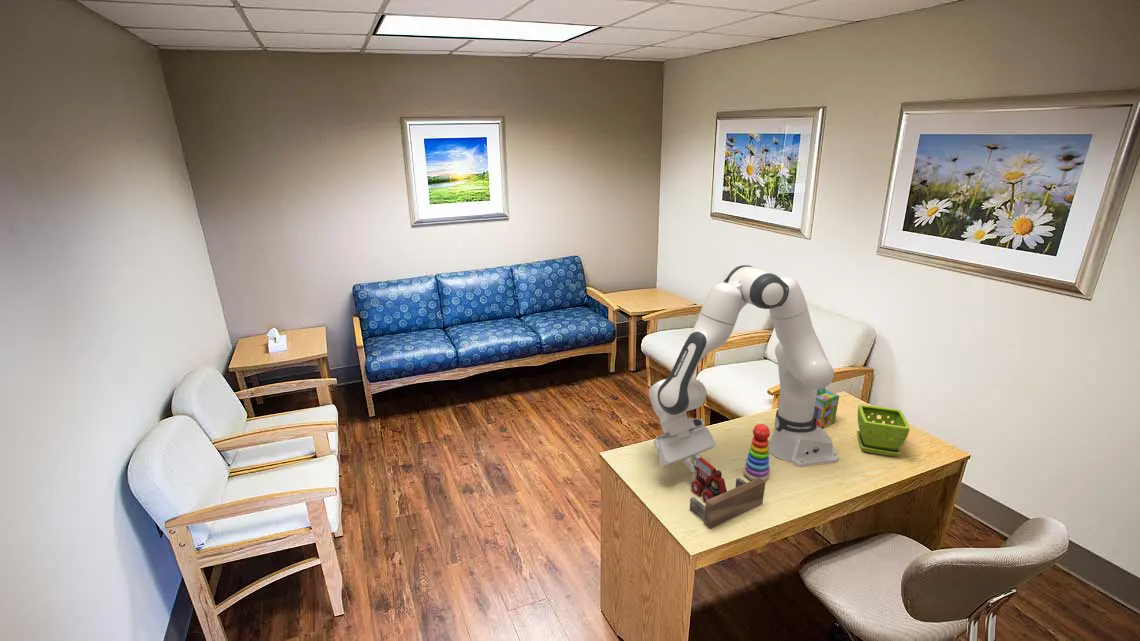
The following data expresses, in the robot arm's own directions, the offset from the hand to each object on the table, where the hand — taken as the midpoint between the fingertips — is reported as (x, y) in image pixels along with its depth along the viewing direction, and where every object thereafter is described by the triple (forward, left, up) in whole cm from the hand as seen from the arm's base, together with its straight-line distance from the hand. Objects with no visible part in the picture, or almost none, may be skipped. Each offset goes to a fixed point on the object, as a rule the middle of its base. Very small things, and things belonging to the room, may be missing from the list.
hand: (696, 470), depth 172 cm
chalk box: (-54, -38, -5) cm, 67 cm away
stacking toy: (-20, -4, -5) cm, 21 cm away
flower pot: (-67, -20, -5) cm, 71 cm away
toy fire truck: (-3, +6, -5) cm, 8 cm away
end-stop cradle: (-7, +11, -5) cm, 14 cm away
